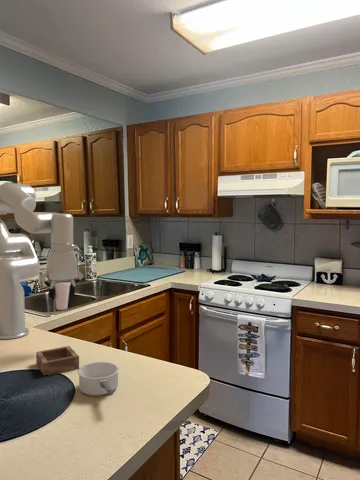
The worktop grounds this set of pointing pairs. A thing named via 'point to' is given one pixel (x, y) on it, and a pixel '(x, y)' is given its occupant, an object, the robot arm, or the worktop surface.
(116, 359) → the worktop surface
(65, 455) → the worktop surface
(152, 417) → the worktop surface
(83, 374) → the saucepan
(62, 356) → the wooden frame
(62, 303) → the smoothie
